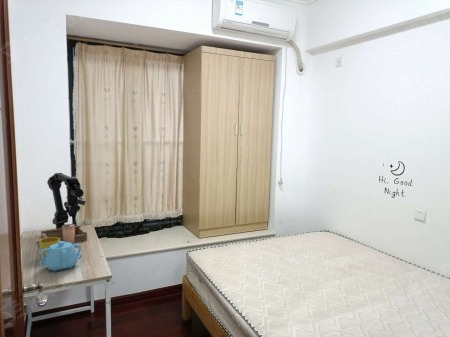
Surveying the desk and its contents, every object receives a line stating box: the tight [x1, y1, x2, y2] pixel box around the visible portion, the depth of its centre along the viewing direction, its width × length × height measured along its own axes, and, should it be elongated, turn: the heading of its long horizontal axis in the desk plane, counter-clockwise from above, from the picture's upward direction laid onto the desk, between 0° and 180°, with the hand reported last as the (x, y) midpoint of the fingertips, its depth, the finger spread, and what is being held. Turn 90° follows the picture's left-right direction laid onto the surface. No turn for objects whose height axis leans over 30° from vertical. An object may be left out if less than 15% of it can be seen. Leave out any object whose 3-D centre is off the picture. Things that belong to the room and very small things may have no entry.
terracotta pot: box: [62, 223, 76, 244], centre depth 195 cm, size 7×7×13 cm
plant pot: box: [38, 237, 61, 258], centre depth 177 cm, size 10×10×10 cm
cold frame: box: [40, 225, 88, 243], centre depth 205 cm, size 16×24×6 cm
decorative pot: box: [39, 241, 83, 272], centre depth 163 cm, size 16×16×14 cm
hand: (72, 218), depth 211 cm, fingers open, 9 cm apart
